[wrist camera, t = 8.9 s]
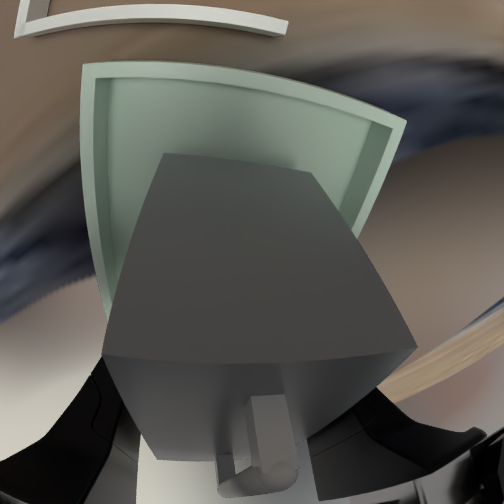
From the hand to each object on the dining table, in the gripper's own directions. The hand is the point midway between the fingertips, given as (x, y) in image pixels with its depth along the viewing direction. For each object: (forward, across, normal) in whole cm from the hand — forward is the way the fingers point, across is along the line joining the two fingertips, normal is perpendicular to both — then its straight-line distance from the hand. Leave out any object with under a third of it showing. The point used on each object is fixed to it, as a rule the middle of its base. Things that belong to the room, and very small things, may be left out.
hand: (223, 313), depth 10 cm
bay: (+4, +4, -16) cm, 17 cm away
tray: (+4, 0, 0) cm, 5 cm away
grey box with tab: (+2, 0, 0) cm, 2 cm away
